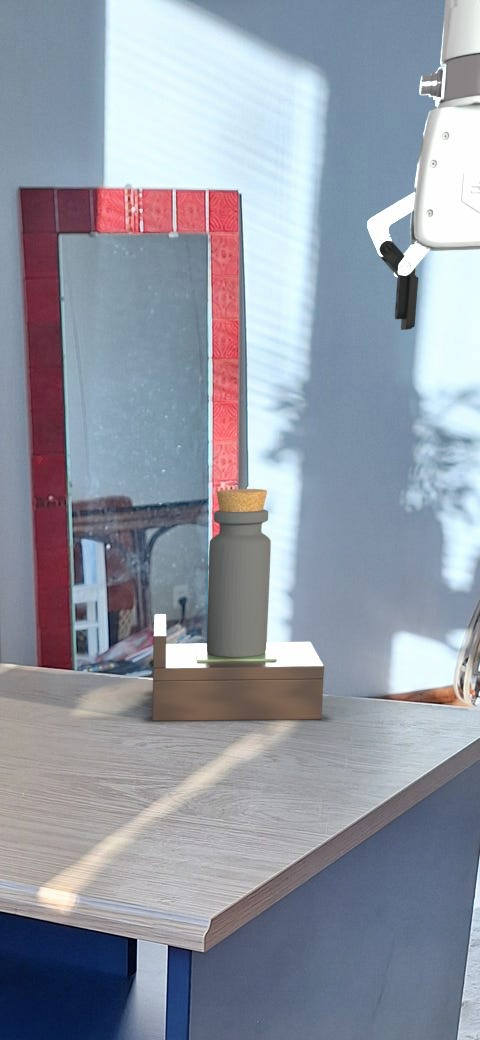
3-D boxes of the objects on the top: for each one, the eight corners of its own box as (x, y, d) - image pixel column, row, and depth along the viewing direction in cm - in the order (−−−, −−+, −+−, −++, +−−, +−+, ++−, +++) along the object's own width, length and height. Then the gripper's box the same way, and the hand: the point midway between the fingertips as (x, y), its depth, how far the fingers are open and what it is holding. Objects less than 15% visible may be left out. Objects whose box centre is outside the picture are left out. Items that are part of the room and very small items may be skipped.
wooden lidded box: (308, 690, 152) (312, 611, 149) (321, 719, 140) (326, 633, 136) (153, 692, 154) (154, 614, 151) (152, 721, 141) (153, 636, 138)
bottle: (277, 654, 143) (285, 490, 137) (225, 659, 141) (230, 494, 135) (246, 645, 148) (252, 487, 142) (195, 650, 146) (199, 490, 140)
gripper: (382, 86, 115) (366, 329, 122) (612, 74, 113) (582, 321, 120) (370, 102, 121) (356, 332, 128) (586, 91, 120) (560, 324, 127)
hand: (465, 326), depth 124 cm, fingers open, 9 cm apart
